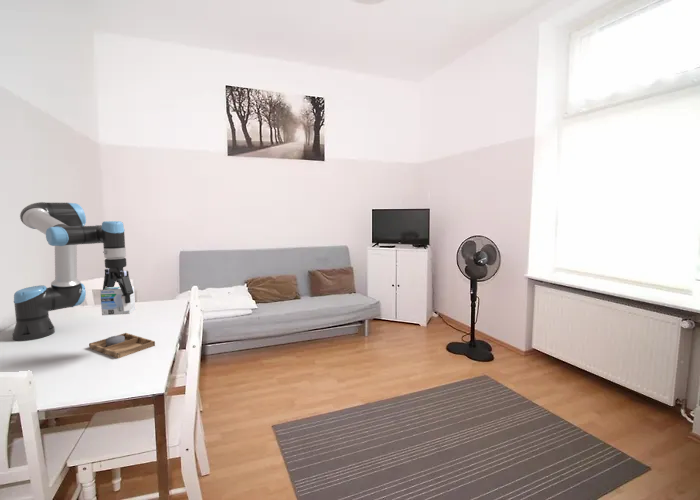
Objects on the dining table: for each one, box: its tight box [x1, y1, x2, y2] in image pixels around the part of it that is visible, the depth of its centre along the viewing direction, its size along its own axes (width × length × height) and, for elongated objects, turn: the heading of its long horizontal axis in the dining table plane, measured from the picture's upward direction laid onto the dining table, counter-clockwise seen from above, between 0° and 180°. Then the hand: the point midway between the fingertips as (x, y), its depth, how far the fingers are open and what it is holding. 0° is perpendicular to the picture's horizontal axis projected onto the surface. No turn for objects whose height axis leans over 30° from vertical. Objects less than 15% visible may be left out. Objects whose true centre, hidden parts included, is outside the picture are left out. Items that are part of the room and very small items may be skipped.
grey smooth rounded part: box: [105, 334, 125, 347], centre depth 156 cm, size 7×7×3 cm
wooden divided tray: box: [88, 332, 156, 359], centre depth 153 cm, size 22×16×2 cm
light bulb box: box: [100, 285, 136, 316], centre depth 147 cm, size 11×7×11 cm, turn 104°
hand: (119, 308), depth 147 cm, fingers closed on light bulb box, 12 cm apart
